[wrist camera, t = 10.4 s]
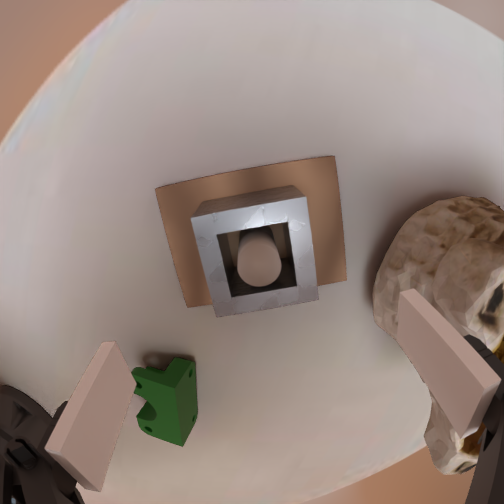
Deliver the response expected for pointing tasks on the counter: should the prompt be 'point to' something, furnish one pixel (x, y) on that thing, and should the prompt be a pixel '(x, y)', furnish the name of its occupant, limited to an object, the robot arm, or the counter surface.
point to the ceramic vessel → (449, 294)
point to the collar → (249, 216)
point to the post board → (258, 238)
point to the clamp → (168, 400)
